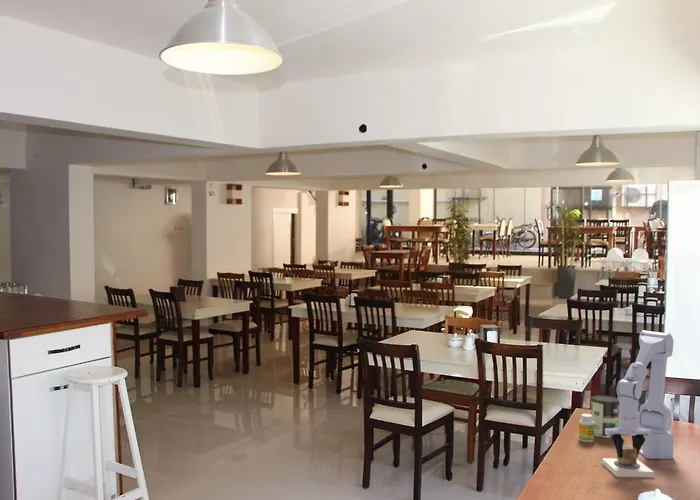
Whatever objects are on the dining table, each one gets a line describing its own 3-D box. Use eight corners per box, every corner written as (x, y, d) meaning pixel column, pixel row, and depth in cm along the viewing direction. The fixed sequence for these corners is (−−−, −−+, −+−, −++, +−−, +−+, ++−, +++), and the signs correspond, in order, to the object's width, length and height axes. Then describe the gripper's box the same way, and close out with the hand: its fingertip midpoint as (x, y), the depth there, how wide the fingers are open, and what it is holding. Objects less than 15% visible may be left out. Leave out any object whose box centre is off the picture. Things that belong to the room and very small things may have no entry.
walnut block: (630, 459, 218) (630, 444, 218) (636, 464, 214) (636, 449, 213) (617, 459, 218) (617, 444, 218) (622, 464, 214) (623, 449, 213)
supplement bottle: (584, 437, 250) (585, 412, 250) (596, 441, 246) (597, 415, 245) (575, 439, 247) (576, 414, 247) (587, 443, 243) (588, 417, 242)
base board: (636, 464, 222) (636, 458, 222) (653, 477, 210) (653, 471, 210) (601, 463, 221) (601, 457, 221) (616, 476, 209) (616, 470, 209)
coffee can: (620, 433, 256) (621, 397, 256) (615, 439, 247) (616, 403, 247) (593, 428, 262) (594, 393, 261) (587, 435, 253) (588, 399, 253)
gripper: (611, 419, 211) (610, 461, 211) (656, 420, 211) (654, 461, 211) (602, 413, 218) (601, 453, 218) (646, 414, 218) (644, 454, 219)
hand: (627, 457), depth 215 cm, fingers closed on walnut block, 4 cm apart
